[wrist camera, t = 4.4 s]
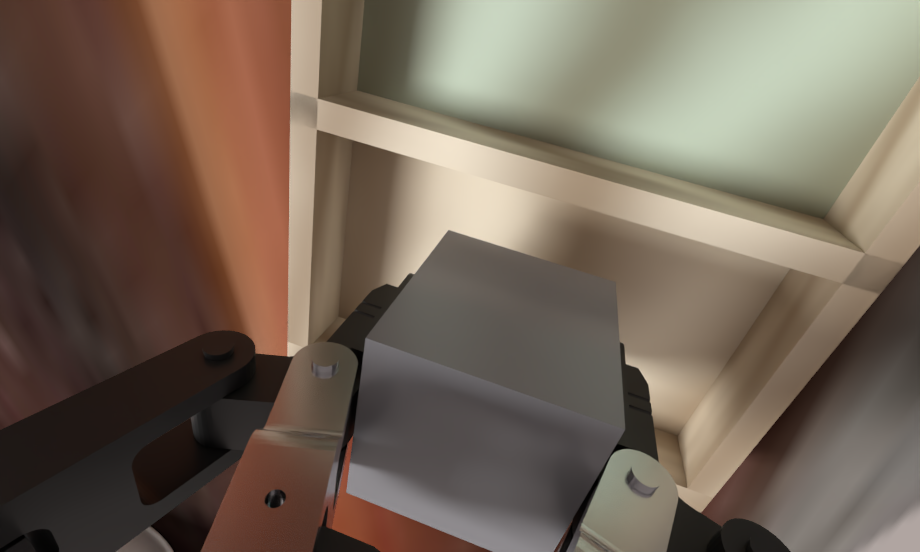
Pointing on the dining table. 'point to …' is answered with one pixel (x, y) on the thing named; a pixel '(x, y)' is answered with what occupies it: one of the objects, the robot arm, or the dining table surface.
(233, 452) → the robot arm
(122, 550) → the lidded bowl
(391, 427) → the gray cube
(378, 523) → the dining table surface
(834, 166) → the tray
